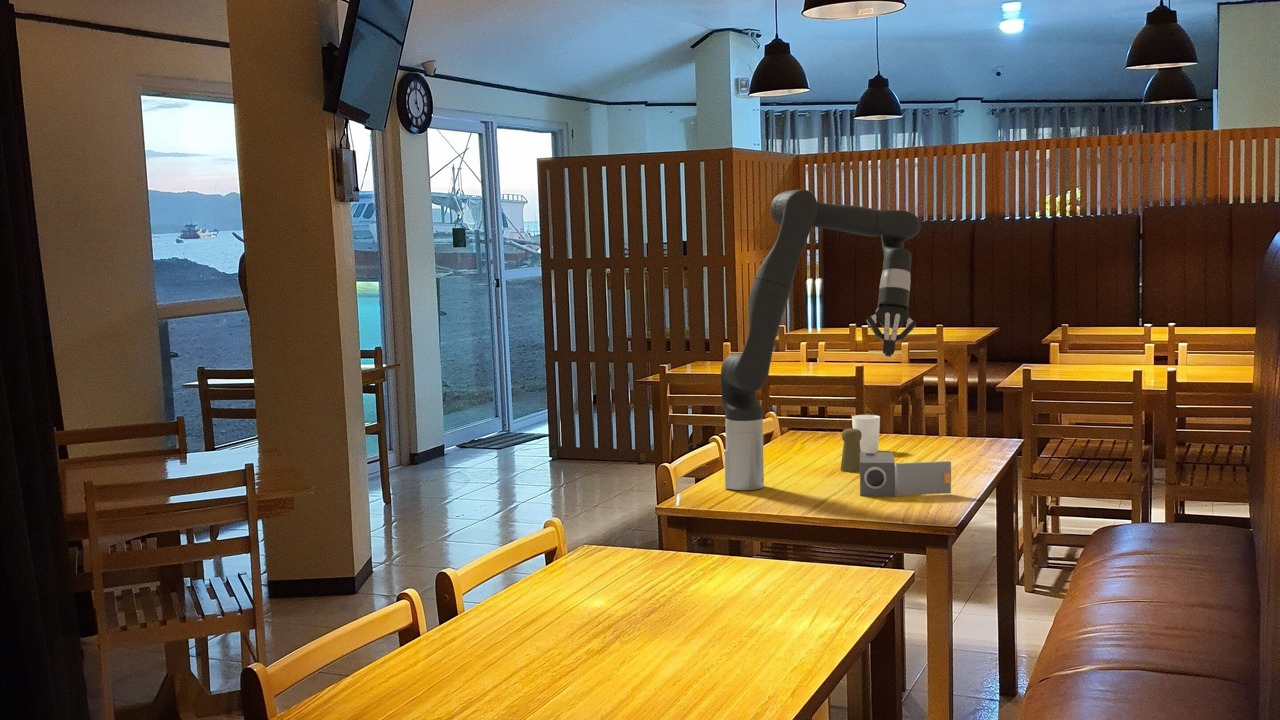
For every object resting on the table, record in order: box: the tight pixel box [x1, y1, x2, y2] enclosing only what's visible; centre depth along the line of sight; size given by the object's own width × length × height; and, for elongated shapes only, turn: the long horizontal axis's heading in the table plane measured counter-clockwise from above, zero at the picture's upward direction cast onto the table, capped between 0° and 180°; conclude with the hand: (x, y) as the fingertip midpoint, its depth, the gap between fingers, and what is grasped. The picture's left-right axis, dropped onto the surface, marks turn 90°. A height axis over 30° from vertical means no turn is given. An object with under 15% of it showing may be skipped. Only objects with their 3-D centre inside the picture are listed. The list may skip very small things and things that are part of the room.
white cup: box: [851, 414, 881, 452], centre depth 340 cm, size 8×8×10 cm
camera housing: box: [859, 451, 896, 497], centre depth 286 cm, size 8×15×9 cm, turn 170°
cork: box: [839, 427, 862, 473], centre depth 312 cm, size 6×6×11 cm
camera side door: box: [895, 460, 952, 496], centre depth 279 cm, size 2×14×8 cm, turn 96°
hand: (888, 355), depth 298 cm, fingers closed
